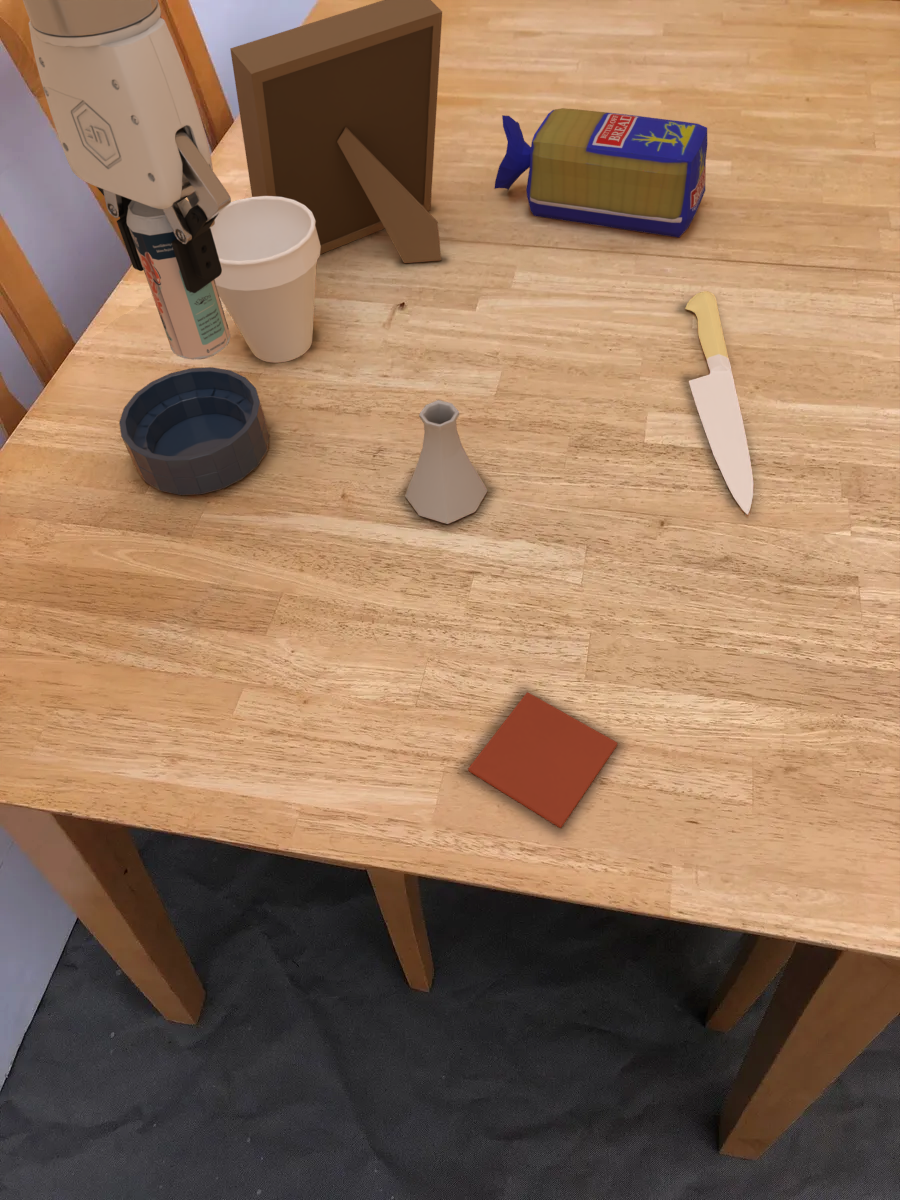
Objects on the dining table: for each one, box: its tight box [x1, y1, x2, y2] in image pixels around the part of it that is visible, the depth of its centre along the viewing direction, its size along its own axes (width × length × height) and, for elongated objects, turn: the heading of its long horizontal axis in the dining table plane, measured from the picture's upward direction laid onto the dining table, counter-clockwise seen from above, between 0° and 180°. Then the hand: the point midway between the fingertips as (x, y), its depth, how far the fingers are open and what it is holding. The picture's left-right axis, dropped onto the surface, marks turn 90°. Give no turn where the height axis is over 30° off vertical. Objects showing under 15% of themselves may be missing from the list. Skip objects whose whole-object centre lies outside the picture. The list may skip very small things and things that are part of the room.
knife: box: [684, 290, 754, 516], centre depth 92 cm, size 1×33×4 cm
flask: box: [404, 399, 489, 525], centre depth 82 cm, size 7×7×10 cm
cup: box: [211, 196, 321, 364], centre depth 96 cm, size 12×12×14 cm
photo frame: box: [230, 0, 443, 264], centre depth 102 cm, size 15×22×25 cm
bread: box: [493, 107, 708, 238], centre depth 110 cm, size 10×25×10 cm, turn 68°
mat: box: [467, 691, 618, 829], centre depth 68 cm, size 8×8×1 cm
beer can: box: [126, 198, 231, 361], centre depth 69 cm, size 5×5×12 cm
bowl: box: [118, 366, 271, 496], centre depth 90 cm, size 13×13×5 cm
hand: (177, 269), depth 68 cm, fingers closed on beer can, 4 cm apart
